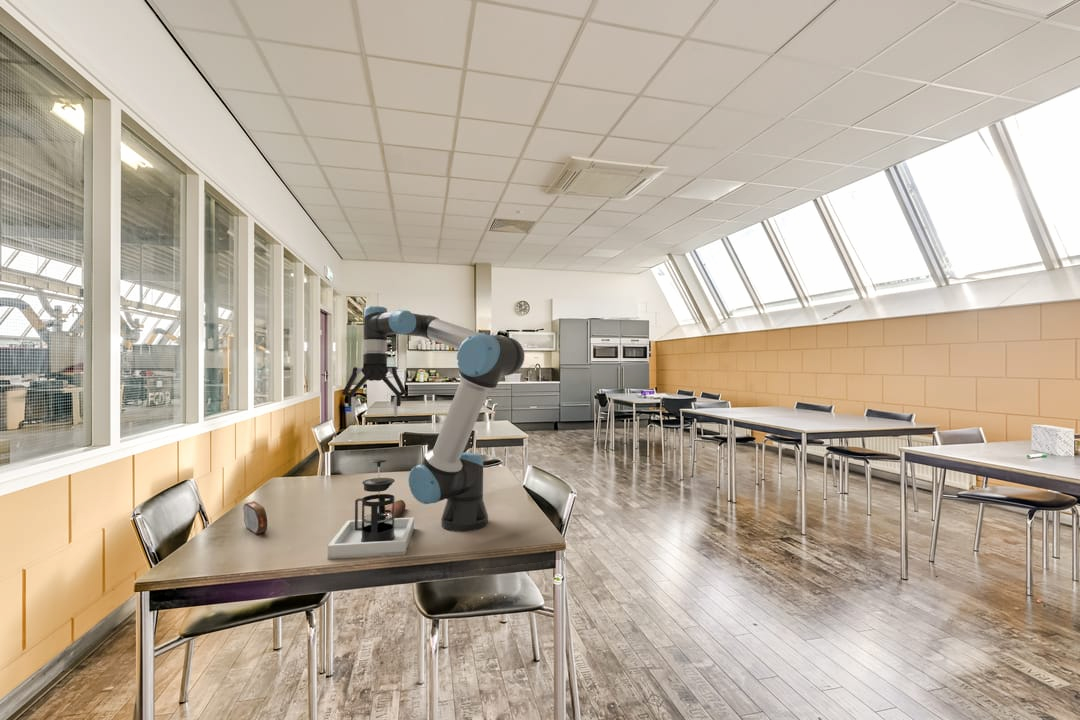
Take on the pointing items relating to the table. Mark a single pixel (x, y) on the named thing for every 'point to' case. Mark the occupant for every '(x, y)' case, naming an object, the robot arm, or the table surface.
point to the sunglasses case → (396, 508)
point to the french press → (376, 510)
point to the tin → (255, 517)
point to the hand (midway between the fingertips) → (374, 416)
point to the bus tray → (351, 545)
